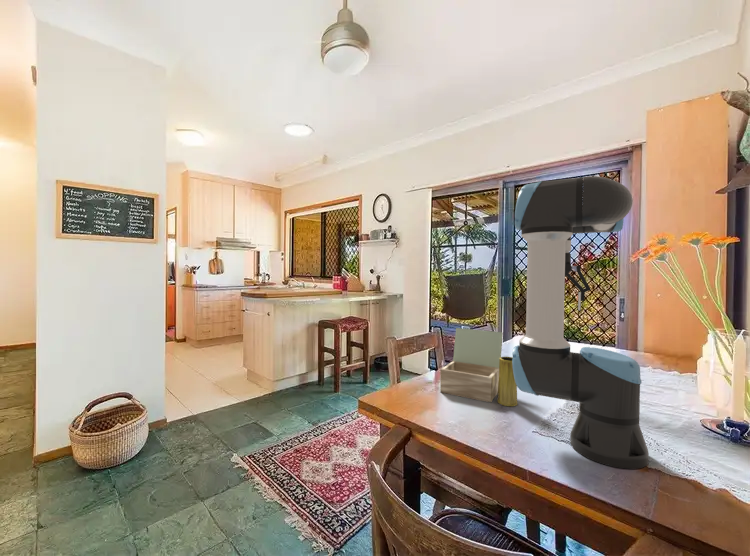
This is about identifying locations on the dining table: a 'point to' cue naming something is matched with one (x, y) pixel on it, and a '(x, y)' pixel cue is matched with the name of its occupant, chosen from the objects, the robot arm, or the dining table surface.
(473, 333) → the lid
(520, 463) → the dining table surface
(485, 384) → the box
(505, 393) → the vase
